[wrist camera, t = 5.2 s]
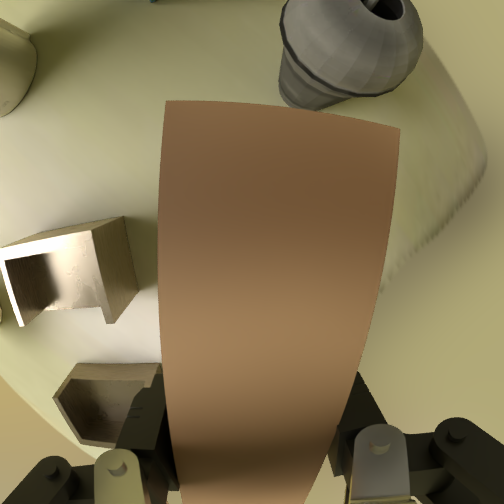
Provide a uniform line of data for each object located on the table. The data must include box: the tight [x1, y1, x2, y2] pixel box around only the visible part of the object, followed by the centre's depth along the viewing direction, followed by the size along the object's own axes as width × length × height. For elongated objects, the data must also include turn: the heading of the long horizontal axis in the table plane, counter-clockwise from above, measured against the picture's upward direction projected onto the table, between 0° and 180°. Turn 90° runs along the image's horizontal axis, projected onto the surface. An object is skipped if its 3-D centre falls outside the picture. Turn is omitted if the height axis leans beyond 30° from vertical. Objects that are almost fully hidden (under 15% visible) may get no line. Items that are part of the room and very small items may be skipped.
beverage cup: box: [278, 0, 423, 111], centre depth 13 cm, size 7×7×20 cm
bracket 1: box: [0, 216, 139, 326], centre depth 23 cm, size 7×10×6 cm
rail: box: [158, 101, 400, 504], centre depth 8 cm, size 16×4×4 cm, turn 175°
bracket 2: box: [52, 363, 162, 449], centre depth 26 cm, size 7×10×6 cm
